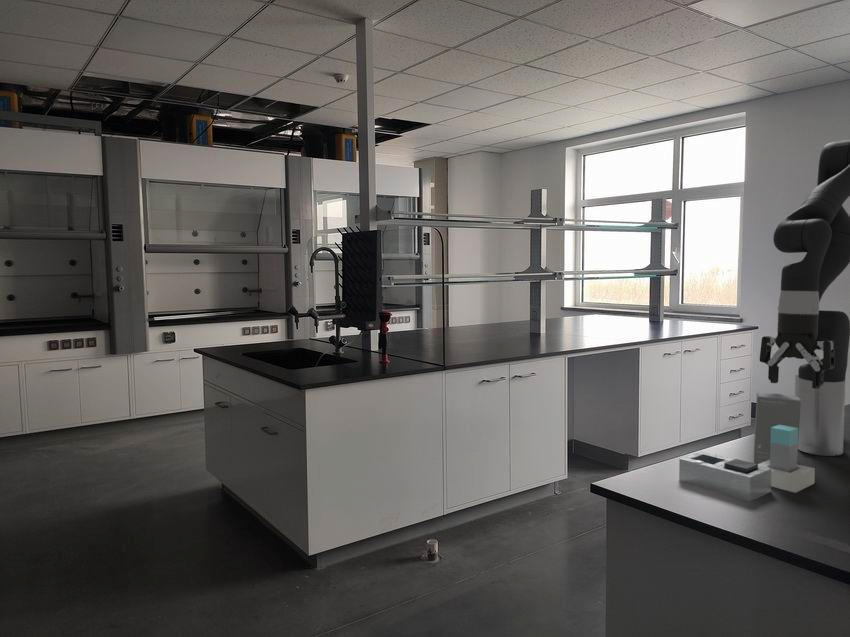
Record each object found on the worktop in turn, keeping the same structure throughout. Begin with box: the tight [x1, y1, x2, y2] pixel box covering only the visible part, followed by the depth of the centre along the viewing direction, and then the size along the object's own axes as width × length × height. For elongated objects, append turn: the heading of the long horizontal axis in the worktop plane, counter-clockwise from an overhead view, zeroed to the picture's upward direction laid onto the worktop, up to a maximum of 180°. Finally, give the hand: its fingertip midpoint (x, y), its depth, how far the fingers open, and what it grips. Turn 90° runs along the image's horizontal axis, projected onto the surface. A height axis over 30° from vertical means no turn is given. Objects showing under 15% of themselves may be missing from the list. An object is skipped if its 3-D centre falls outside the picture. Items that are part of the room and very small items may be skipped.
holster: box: [758, 460, 816, 493], centre depth 118 cm, size 8×8×4 cm
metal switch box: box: [678, 450, 772, 502], centre depth 117 cm, size 8×14×6 cm, turn 35°
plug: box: [770, 425, 799, 473], centre depth 118 cm, size 4×4×11 cm
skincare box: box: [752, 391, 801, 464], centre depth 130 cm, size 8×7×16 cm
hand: (794, 385), depth 131 cm, fingers open, 8 cm apart
